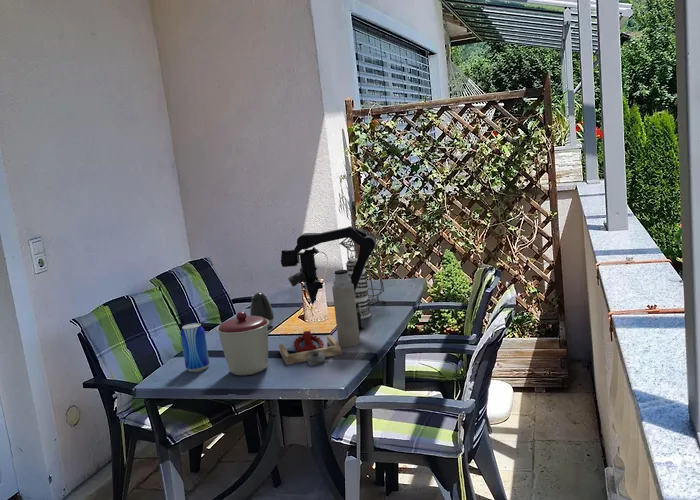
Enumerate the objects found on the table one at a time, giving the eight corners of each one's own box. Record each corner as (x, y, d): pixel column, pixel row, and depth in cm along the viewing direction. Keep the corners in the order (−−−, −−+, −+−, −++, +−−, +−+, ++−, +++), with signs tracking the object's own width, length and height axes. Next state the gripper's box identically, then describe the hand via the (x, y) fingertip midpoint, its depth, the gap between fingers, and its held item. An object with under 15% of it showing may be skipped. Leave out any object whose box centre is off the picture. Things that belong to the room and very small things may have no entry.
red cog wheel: (303, 360, 231) (300, 338, 230) (290, 352, 242) (288, 331, 240) (331, 353, 236) (328, 331, 234) (317, 345, 246) (314, 324, 245)
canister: (252, 382, 215) (243, 321, 211) (212, 377, 224) (202, 318, 221) (285, 363, 230) (277, 305, 226) (246, 359, 239) (238, 303, 236)
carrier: (331, 342, 248) (330, 332, 248) (346, 359, 227) (345, 348, 227) (279, 352, 243) (278, 341, 243) (289, 370, 222) (288, 359, 222)
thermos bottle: (343, 340, 250) (334, 268, 245) (362, 340, 247) (354, 267, 242) (335, 346, 242) (327, 273, 238) (356, 346, 239) (347, 272, 235)
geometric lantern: (390, 298, 305) (382, 225, 298) (373, 308, 292) (365, 232, 286) (361, 297, 314) (353, 225, 307) (344, 306, 301) (335, 232, 294)
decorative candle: (346, 319, 278) (340, 261, 274) (354, 313, 287) (348, 257, 283) (366, 319, 275) (360, 261, 271) (374, 312, 283) (368, 256, 279)
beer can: (188, 366, 239) (181, 324, 237) (211, 363, 240) (204, 321, 237) (184, 374, 231) (177, 330, 228) (208, 370, 231) (201, 327, 229)
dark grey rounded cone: (246, 330, 278) (241, 295, 276) (260, 323, 287) (255, 289, 285) (265, 331, 274) (261, 296, 271) (279, 324, 283) (275, 289, 280)
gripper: (284, 264, 267) (289, 301, 270) (292, 272, 250) (297, 311, 252) (310, 260, 270) (315, 297, 273) (320, 267, 252) (325, 306, 255)
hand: (312, 302), depth 263 cm, fingers closed
